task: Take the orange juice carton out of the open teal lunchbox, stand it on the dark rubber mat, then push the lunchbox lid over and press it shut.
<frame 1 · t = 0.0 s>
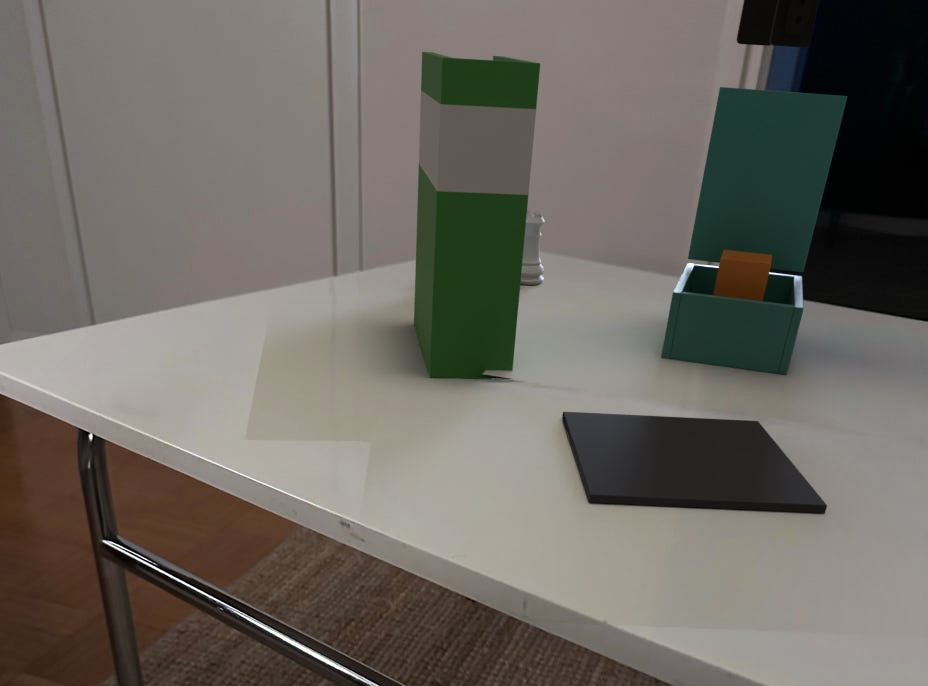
hand: (770, 45, 79), 26 cm above the table, tool pointing down, fingers open, 9 cm apart
lunchbox: (725, 354, 93), on the table
carton: (727, 346, 92), point 1 cm above the table, touching lunchbox
lunchbox lid: (762, 182, 91), point 15 cm above the table, hinge at 92.0°
cosmetic box: (472, 295, 109), on the table
mat: (681, 461, 68), on the table
green and white box: (458, 351, 89), on the table
rook chess piece: (525, 283, 115), on the table
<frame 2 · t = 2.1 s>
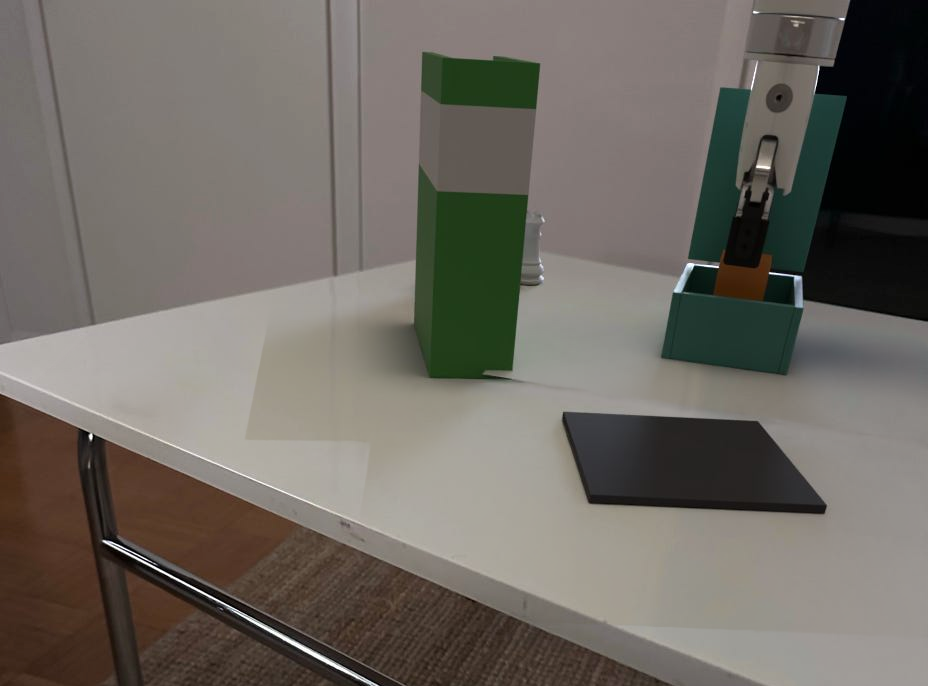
hand: (742, 256, 88), 9 cm above the table, tool pointing down, fingers open, 9 cm apart
lunchbox lid: (762, 182, 91), point 15 cm above the table, hinge at 94.7°, touching gripper
everything else where it was.
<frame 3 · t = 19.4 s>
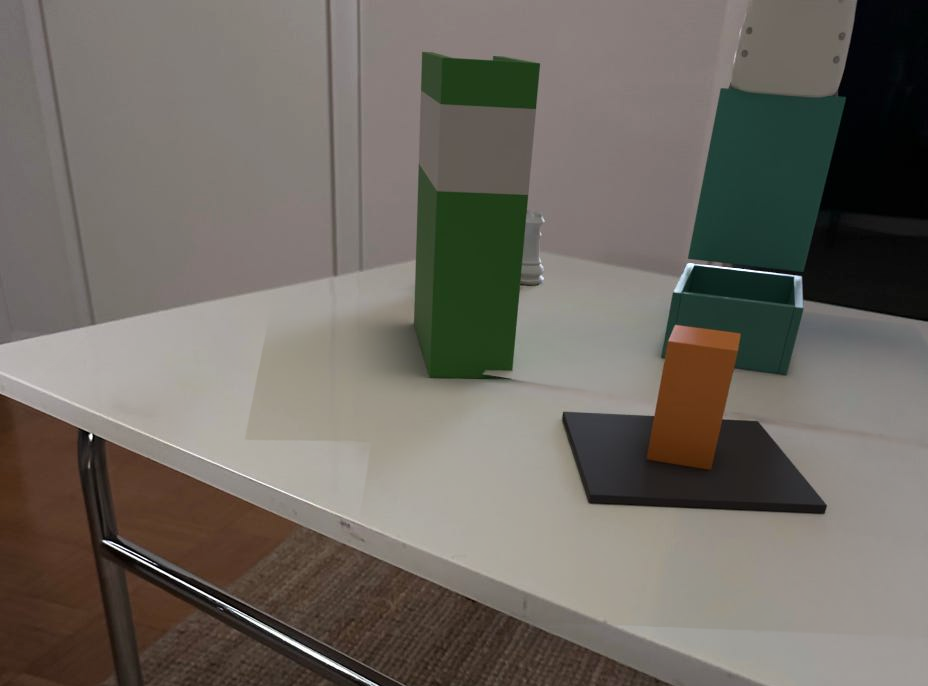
hand: (763, 177, 93), 15 cm above the table, tool pointing down, fingers closed
carton: (681, 453, 68), point 1 cm above the table, touching mat
lunchbox lid: (762, 182, 91), point 15 cm above the table, hinge at 98.3°, touching gripper
everything else where it was.
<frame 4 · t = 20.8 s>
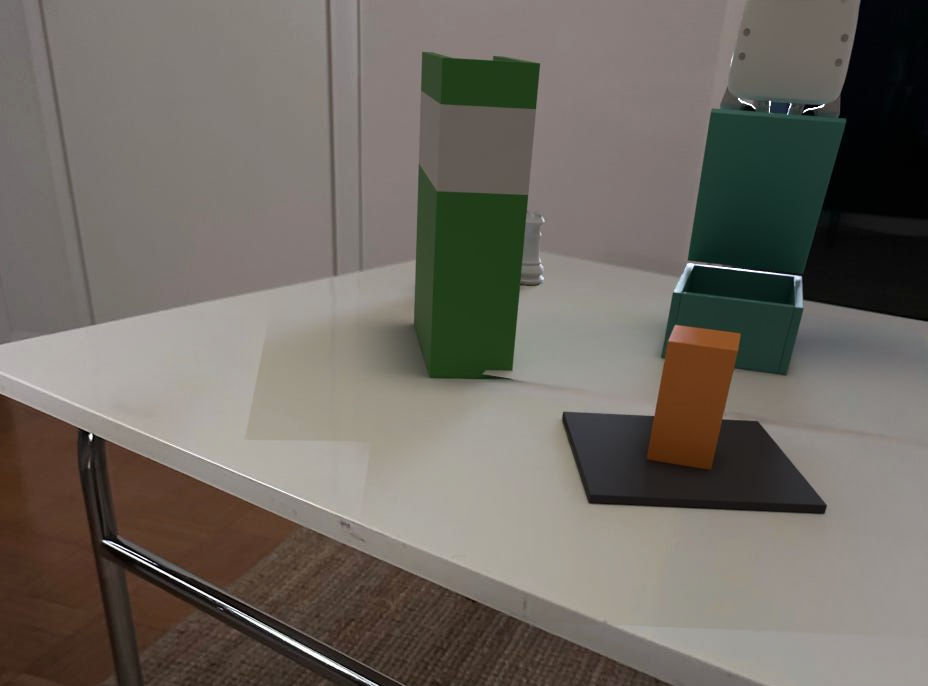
hand: (762, 186, 89), 15 cm above the table, tool pointing down, fingers closed
lunchbox lid: (760, 195, 88), point 14 cm above the table, hinge at 63.5°, touching gripper
everything else where it was.
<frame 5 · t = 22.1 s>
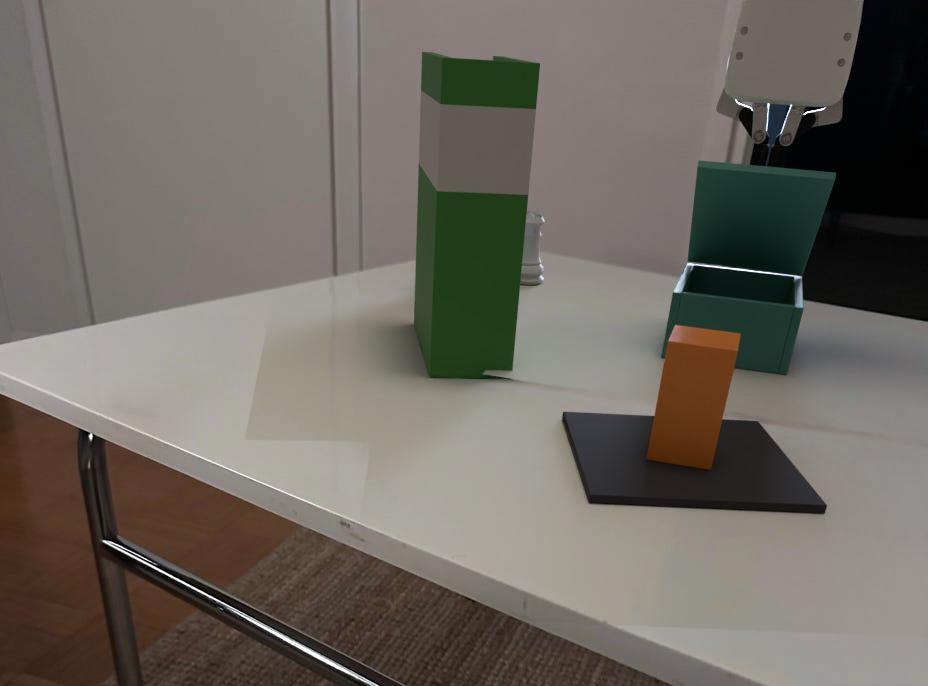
hand: (760, 192, 85), 15 cm above the table, tool pointing down, fingers closed
lunchbox lid: (754, 221, 87), point 12 cm above the table, hinge at 40.0°
everything else where it was.
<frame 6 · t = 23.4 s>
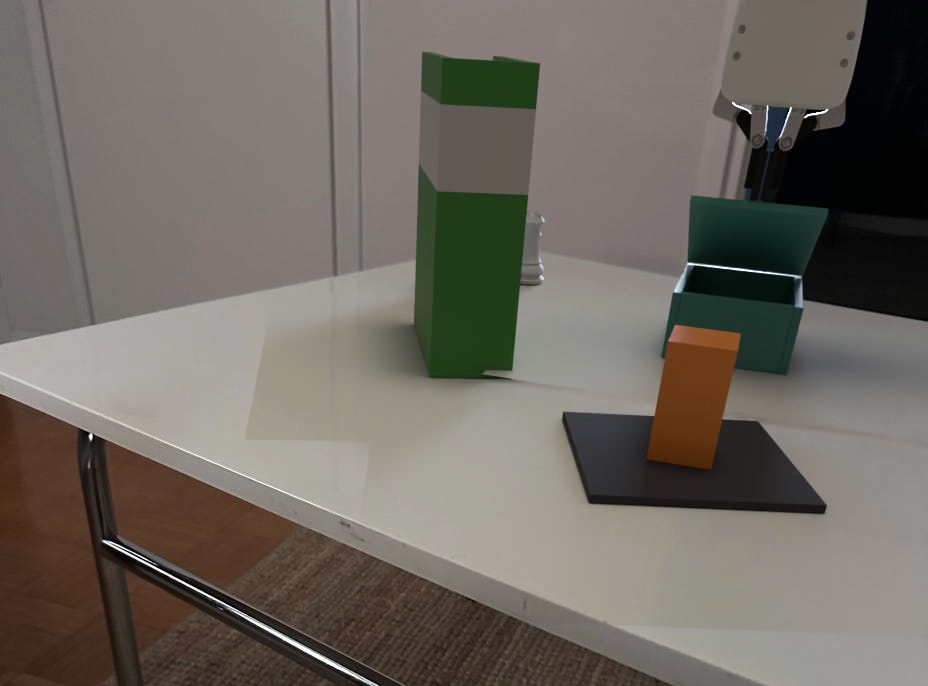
hand: (759, 199, 81), 15 cm above the table, tool pointing down, fingers closed
lunchbox lid: (750, 238, 87), point 11 cm above the table, hinge at 28.2°
everything else where it was.
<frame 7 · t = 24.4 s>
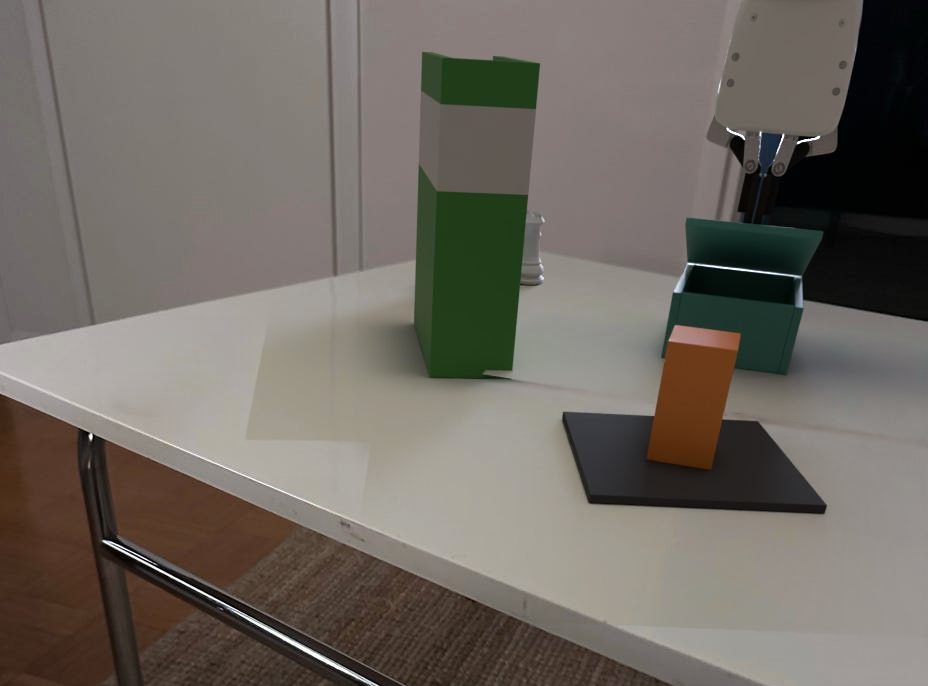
hand: (752, 222, 82), 13 cm above the table, tool pointing down, fingers closed
lunchbox lid: (748, 248, 87), point 10 cm above the table, hinge at 21.2°
everything else where it was.
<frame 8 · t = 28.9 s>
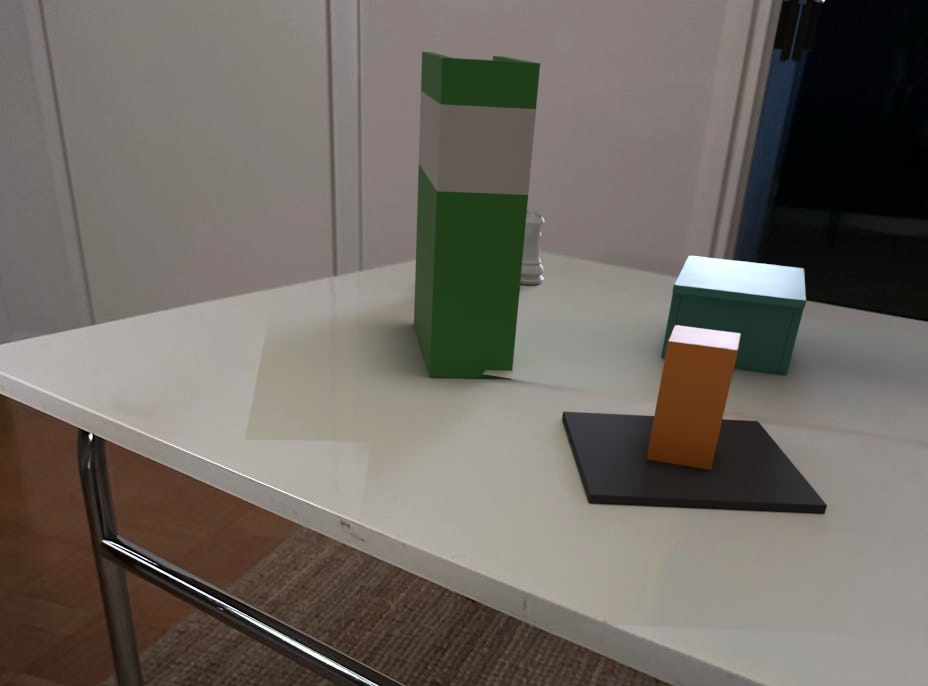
hand: (789, 61, 75), 25 cm above the table, tool pointing down, fingers closed
lunchbox lid: (741, 279, 88), point 7 cm above the table, hinge at 0.2°
everything else where it was.
at the end: carton inside the target area on the mat (0.1 cm from its centre), point 0.6 cm above the mat's base; carton tilted 0°; lunchbox lid at +0° (first picture: +92°) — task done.
